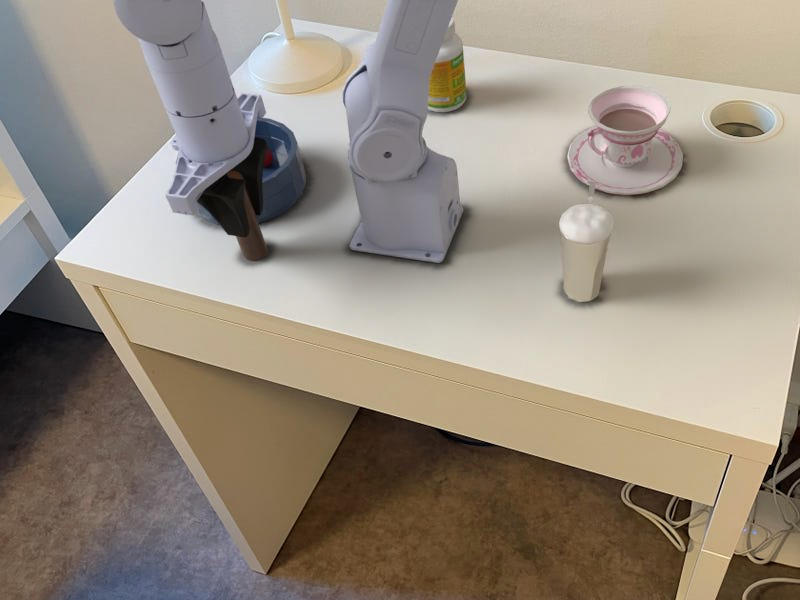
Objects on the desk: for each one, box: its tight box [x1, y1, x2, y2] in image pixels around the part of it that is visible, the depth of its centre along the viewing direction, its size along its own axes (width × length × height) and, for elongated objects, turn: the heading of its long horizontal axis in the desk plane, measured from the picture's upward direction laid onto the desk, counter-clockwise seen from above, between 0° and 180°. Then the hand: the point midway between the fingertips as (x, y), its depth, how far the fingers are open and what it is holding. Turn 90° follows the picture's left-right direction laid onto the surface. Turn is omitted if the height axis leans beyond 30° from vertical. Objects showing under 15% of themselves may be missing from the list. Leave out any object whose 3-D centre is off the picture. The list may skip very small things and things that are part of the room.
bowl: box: [175, 117, 307, 226], centre depth 85 cm, size 12×12×4 cm
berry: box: [264, 150, 273, 167], centre depth 87 cm, size 2×2×2 cm
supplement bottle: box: [428, 16, 467, 113], centre depth 91 cm, size 5×5×10 cm
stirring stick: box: [227, 171, 268, 262], centre depth 77 cm, size 2×2×9 cm
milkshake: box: [558, 182, 615, 303], centre depth 71 cm, size 4×5×10 cm
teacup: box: [566, 85, 684, 196], centre depth 84 cm, size 12×12×6 cm
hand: (245, 222), depth 77 cm, fingers closed on stirring stick, 2 cm apart
